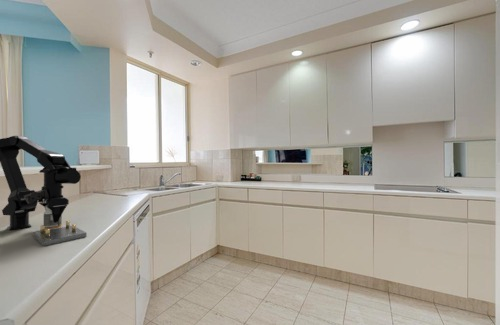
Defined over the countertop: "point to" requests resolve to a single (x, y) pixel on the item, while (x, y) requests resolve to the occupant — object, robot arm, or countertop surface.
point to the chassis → (58, 234)
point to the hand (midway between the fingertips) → (52, 220)
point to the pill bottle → (51, 220)
